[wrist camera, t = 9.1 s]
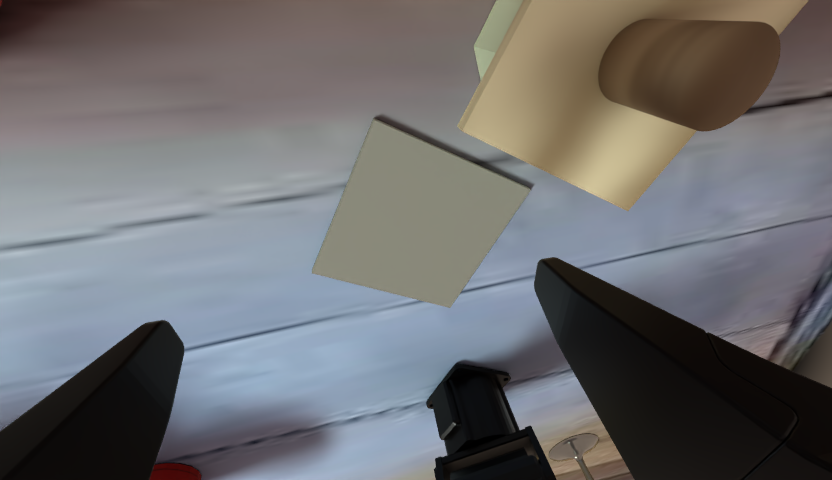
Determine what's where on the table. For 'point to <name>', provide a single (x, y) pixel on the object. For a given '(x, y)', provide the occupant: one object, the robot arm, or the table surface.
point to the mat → (415, 218)
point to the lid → (623, 84)
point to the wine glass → (575, 450)
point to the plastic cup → (174, 472)
